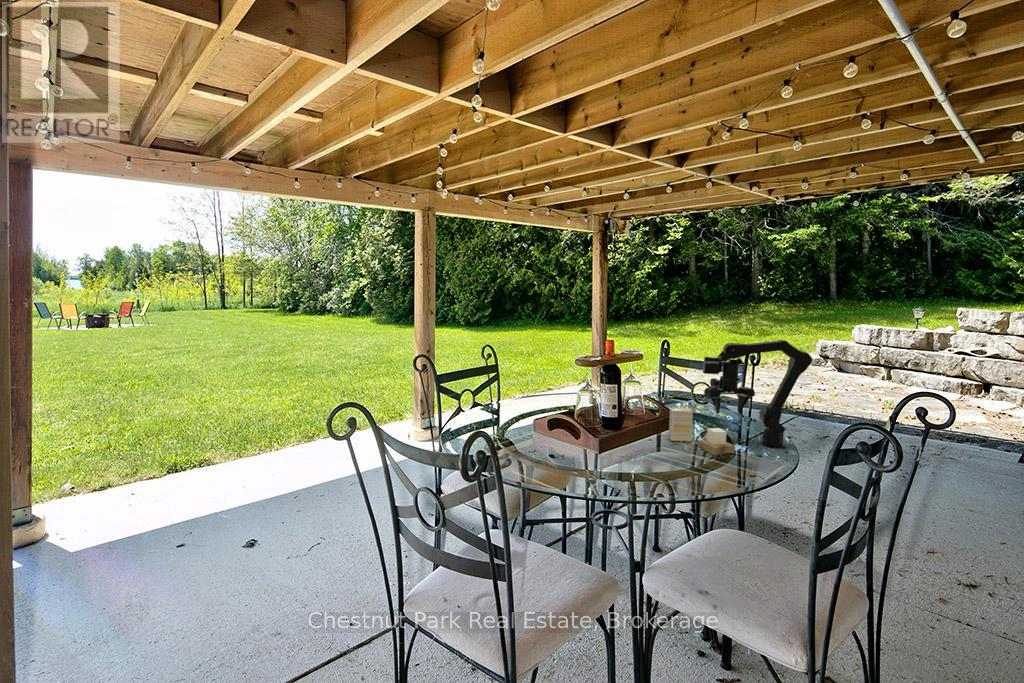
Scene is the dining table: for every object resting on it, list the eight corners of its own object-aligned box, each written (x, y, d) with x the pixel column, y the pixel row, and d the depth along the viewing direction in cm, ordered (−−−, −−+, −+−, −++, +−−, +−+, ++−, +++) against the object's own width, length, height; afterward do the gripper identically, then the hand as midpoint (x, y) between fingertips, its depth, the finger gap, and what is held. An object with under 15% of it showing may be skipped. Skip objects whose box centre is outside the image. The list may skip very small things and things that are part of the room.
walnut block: (718, 447, 200) (719, 438, 200) (734, 454, 192) (734, 445, 191) (698, 449, 198) (699, 440, 198) (713, 456, 189) (714, 447, 189)
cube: (718, 440, 197) (719, 428, 197) (725, 444, 192) (726, 431, 192) (706, 441, 197) (707, 428, 196) (712, 445, 192) (713, 432, 191)
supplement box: (688, 439, 210) (690, 407, 208) (691, 442, 205) (693, 410, 203) (668, 438, 210) (669, 407, 209) (670, 441, 206) (672, 410, 204)
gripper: (740, 371, 212) (738, 407, 214) (698, 371, 210) (696, 409, 211) (756, 375, 201) (754, 414, 203) (712, 376, 199) (710, 415, 200)
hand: (728, 413), depth 205 cm, fingers open, 9 cm apart
